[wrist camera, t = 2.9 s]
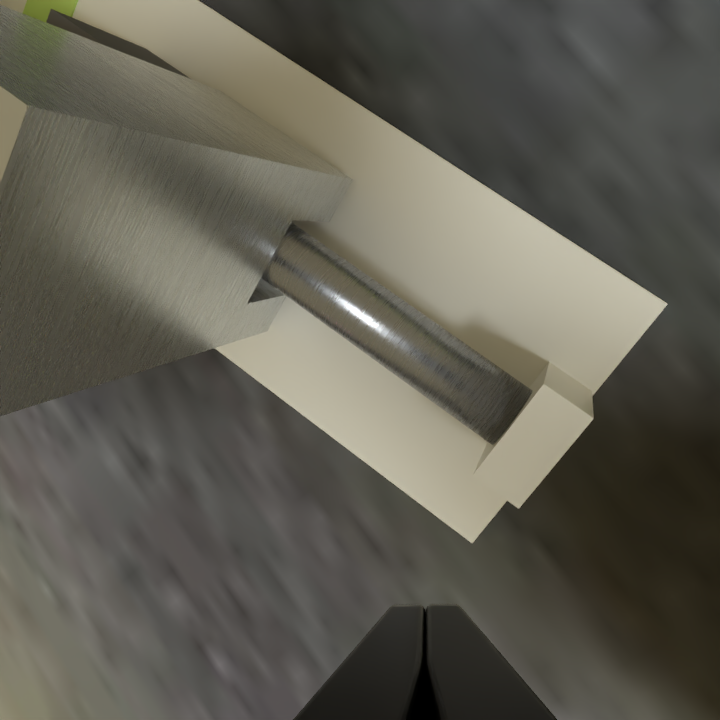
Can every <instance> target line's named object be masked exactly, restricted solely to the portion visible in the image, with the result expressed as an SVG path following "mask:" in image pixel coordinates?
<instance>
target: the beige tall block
mask: <svg viewBox="0 0 720 720" xmlns="http://www.w3.org/2000/svg"><path fill="white" fill-rule="evenodd" d="M352 181H353V179H351V178H350V177H348V176H347V175H345V174H344V173H342V172H341V171H339V170H338V169H337V168H335V167H334V166H332V165H331V164H329V163H328V162H326V161H325V160H323V159H322V158H320V157H319V156H317V155H316V154H314V153H313V152H311V151H310V150H308V149H307V148H305V147H304V146H302V145H301V144H299V143H298V142H296V141H295V140H293V139H292V138H290V137H289V136H287V135H286V134H284V133H283V132H281V131H280V130H278V129H277V128H275V127H274V126H272V125H271V124H269V123H268V122H267V121H265V120H264V119H262V118H261V117H259V116H258V115H256V114H255V113H253V112H252V111H250V110H249V109H247V108H246V107H244V106H243V105H241V104H240V103H238V102H237V101H235V100H234V99H232V98H231V97H229V96H228V95H226V94H225V93H223V92H222V91H220V90H218V89H215V88H212V87H210V86H207V85H205V84H202V83H200V82H197V81H194V80H192V79H189V78H187V77H184V76H182V75H179V74H177V73H174V72H171V71H169V70H166V69H164V68H161V67H159V66H156V65H154V64H151V63H148V62H146V61H143V60H141V59H138V58H136V57H133V56H130V55H128V54H125V53H123V52H120V51H118V50H115V49H113V48H110V47H107V46H105V45H102V44H100V43H97V42H95V41H92V40H90V39H87V38H84V37H82V36H79V35H77V34H74V33H72V32H69V31H66V30H64V29H61V28H59V27H56V26H54V25H51V24H49V23H46V22H43V21H41V20H38V19H36V18H33V17H31V16H28V15H26V14H23V13H20V12H18V11H15V10H13V9H10V8H8V7H5V6H2V5H0V416H2V415H6V414H9V413H12V412H15V411H18V410H21V409H24V408H28V407H31V406H34V405H37V404H40V403H43V402H46V401H50V400H53V399H56V398H59V397H62V396H65V395H69V394H72V393H75V392H78V391H81V390H84V389H87V388H91V387H94V386H97V385H100V384H103V383H106V382H109V381H113V380H116V379H119V378H122V377H125V376H128V375H131V374H135V373H138V372H141V371H144V370H147V369H150V368H153V367H157V366H160V365H163V364H166V363H169V362H172V361H175V360H179V359H182V358H185V357H188V356H191V355H194V354H197V353H201V352H204V351H207V350H210V349H213V348H216V347H219V346H223V345H226V344H229V343H232V342H235V341H238V340H241V339H245V338H248V337H251V336H254V335H257V334H260V333H263V332H267V331H268V329H269V327H270V325H271V324H272V322H273V320H274V318H275V317H276V315H277V313H278V311H279V310H280V308H281V306H282V304H283V303H284V301H285V299H286V297H287V296H285V295H284V294H283V293H281V292H280V291H279V290H277V289H276V288H274V287H273V286H272V285H270V284H269V283H267V282H266V281H265V280H263V279H262V278H261V277H262V275H263V273H264V271H265V270H266V268H267V266H268V264H269V262H270V260H271V259H272V257H273V255H274V253H275V251H276V249H277V248H278V246H279V244H280V242H281V240H282V238H283V237H284V235H285V233H286V231H287V229H288V227H289V226H290V224H291V222H292V220H293V221H319V222H330V220H331V218H332V216H333V215H334V213H335V211H336V209H337V208H338V206H339V204H340V202H341V201H342V199H343V197H344V195H345V194H346V192H347V190H348V188H349V186H350V185H351V183H352Z"/></svg>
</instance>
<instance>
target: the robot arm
mask: <svg viewBox="0 0 720 720" xmlns="http://www.w3.org/2000/svg"><path fill="white" fill-rule="evenodd" d="M293 720H557V719H556V718H555V716H554V715H553V714H552V713H551V712H550V711H549V709H548V708H547V707H546V706H545V705H544V704H543V702H542V701H541V700H540V699H539V698H538V697H537V695H536V694H535V693H534V692H533V691H532V690H531V688H530V687H529V686H528V685H527V684H526V683H525V681H524V680H523V679H522V678H521V677H520V676H519V674H518V673H517V672H516V671H515V670H514V669H513V667H512V666H511V665H510V664H509V663H508V662H507V660H506V659H505V658H504V657H503V656H502V655H501V653H500V652H499V651H498V650H497V649H496V648H495V646H494V645H493V644H492V643H491V642H490V641H489V639H488V638H487V637H486V636H485V635H484V634H483V632H482V631H481V630H480V629H479V628H478V627H477V625H476V624H475V623H474V622H473V621H472V620H471V618H470V617H469V616H468V615H467V614H466V613H465V611H464V610H463V609H462V608H461V607H460V606H459V605H457V604H431V605H429V606H427V608H426V614H425V609H424V607H423V606H421V605H393V606H392V607H390V608H389V609H388V610H387V612H386V613H385V614H384V615H383V616H382V617H381V619H380V620H379V621H378V622H377V623H376V624H375V625H374V627H373V628H372V629H371V630H370V631H369V632H368V634H367V635H366V636H365V637H364V638H363V639H362V641H361V642H360V643H359V644H358V645H357V646H356V647H355V649H354V650H353V651H352V652H351V653H350V654H349V656H348V657H347V658H346V659H345V660H344V661H343V663H342V664H341V665H340V666H339V667H338V668H337V670H336V671H335V672H334V673H333V674H332V675H331V676H330V678H329V679H328V680H327V681H326V682H325V683H324V685H323V686H322V687H321V688H320V689H319V690H318V692H317V693H316V694H315V695H314V696H313V697H312V698H311V700H310V701H309V702H308V703H307V704H306V705H305V707H304V708H303V709H302V710H301V711H300V712H299V714H298V715H297V716H296V717H295V718H294V719H293Z"/></svg>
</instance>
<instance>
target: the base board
mask: <svg viewBox="0 0 720 720" xmlns="http://www.w3.org/2000/svg"><path fill="white" fill-rule="evenodd" d="M0 5H2V6H5V7H8V8H10V9H13V10H15V11H18V12H20V13H23V14H26V15H28V16H31V17H33V18H36V19H38V20H41V21H43V22H46V21H47V18H48V16H49V13H50V10H51V9H53V10H55V11H58V12H60V13H63V14H65V15H67V16H70V17H72V18H74V19H77V20H79V21H82V22H84V23H86V24H89V25H91V26H93V27H96V28H98V29H101V30H103V31H105V32H108V33H110V34H113V35H115V36H117V37H120V38H122V39H124V40H127V41H129V42H132V43H134V44H136V45H139V46H141V47H143V48H146V49H147V50H149V51H150V52H152V53H153V54H155V55H156V56H158V57H159V58H161V59H162V60H164V61H165V62H167V63H168V64H170V65H171V66H173V67H174V68H176V69H177V70H179V71H180V72H182V73H183V74H185V75H186V76H187V77H189V78H190V79H192V80H194V81H197V82H200V83H202V84H205V85H207V86H210V87H212V88H215V89H218V90H220V91H222V92H223V93H225V94H226V95H228V96H229V97H231V98H232V99H234V100H235V101H237V102H238V103H240V104H241V105H243V106H244V107H246V108H247V109H249V110H250V111H252V112H253V113H255V114H256V115H258V116H259V117H261V118H262V119H264V120H265V121H267V122H268V123H269V124H271V125H272V126H274V127H275V128H277V129H278V130H280V131H281V132H283V133H284V134H286V135H287V136H289V137H290V138H292V139H293V140H295V141H296V142H298V143H299V144H301V145H302V146H304V147H305V148H307V149H308V150H310V151H311V152H313V153H314V154H316V155H317V156H319V157H320V158H322V159H323V160H325V161H326V162H328V163H329V164H331V165H332V166H334V167H335V168H337V169H338V170H339V171H341V172H342V173H344V174H345V175H347V176H348V177H350V178H351V179H353V181H352V183H351V185H350V186H349V188H348V190H347V192H346V194H345V195H344V197H343V199H342V201H341V202H340V204H339V206H338V208H337V209H336V211H335V213H334V215H333V216H332V218H331V220H330V222H319V221H293V220H292V223H293V224H295V225H296V226H298V227H299V228H301V229H302V230H304V231H305V232H306V233H308V234H309V235H311V236H312V237H314V238H315V239H316V240H318V241H319V242H321V243H322V244H324V245H325V246H326V247H328V248H329V249H331V250H332V251H334V252H335V253H336V254H338V255H339V256H341V257H342V258H344V259H345V260H346V261H348V262H349V263H351V264H352V265H354V266H355V267H356V268H358V269H359V270H361V271H362V272H364V273H365V274H367V275H368V276H369V277H371V278H372V279H374V280H375V281H377V282H378V283H379V284H381V285H382V286H384V287H385V288H387V289H388V290H389V291H391V292H392V293H394V294H395V295H397V296H398V297H399V298H401V299H402V300H404V301H405V302H407V303H408V304H409V305H411V306H412V307H414V308H415V309H417V310H418V311H419V312H421V313H422V314H424V315H425V316H427V317H428V318H430V319H431V320H432V321H434V322H435V323H437V324H438V325H440V326H441V327H442V328H444V329H445V330H447V331H448V332H450V333H451V334H452V335H454V336H455V337H457V338H458V339H460V340H461V341H462V342H464V343H465V344H467V345H468V346H470V347H471V348H472V349H474V350H475V351H477V352H478V353H480V354H481V355H482V356H484V357H485V358H487V359H488V360H490V361H491V362H493V363H494V364H495V365H497V366H498V367H500V368H501V369H503V370H504V371H505V372H507V373H508V374H510V375H511V376H513V377H514V378H515V379H517V380H518V381H520V382H521V383H523V384H524V385H525V386H527V387H528V388H530V389H531V390H532V394H531V396H530V397H529V399H528V401H527V402H526V404H525V405H524V407H523V408H522V410H521V411H520V413H519V414H518V415H517V417H516V418H515V420H514V421H513V422H512V424H511V425H510V426H509V427H508V429H507V430H506V431H505V433H504V434H503V435H502V436H501V437H500V438H499V440H498V441H497V442H496V443H495V444H494V445H491V444H490V443H489V442H487V441H486V440H484V439H483V438H482V437H480V436H479V435H478V434H476V433H475V432H473V431H472V430H471V429H469V428H468V427H466V426H465V425H464V424H462V423H461V422H460V421H458V420H457V419H455V418H454V417H453V416H451V415H450V414H448V413H447V412H446V411H444V410H443V409H442V408H440V407H439V406H437V405H436V404H435V403H433V402H432V401H431V400H429V399H428V398H426V397H425V396H424V395H422V394H421V393H419V392H418V391H417V390H415V389H414V388H413V387H411V386H410V385H408V384H407V383H406V382H404V381H403V380H402V379H400V378H399V377H397V376H396V375H395V374H393V373H392V372H390V371H389V370H388V369H386V368H385V367H384V366H382V365H381V364H379V363H378V362H377V361H375V360H374V359H372V358H371V357H370V356H368V355H367V354H366V353H364V352H363V351H361V350H360V349H359V348H357V347H356V346H355V345H353V344H352V343H350V342H349V341H348V340H346V339H345V338H343V337H342V336H341V335H339V334H338V333H337V332H335V331H334V330H332V329H331V328H330V327H328V326H327V325H325V324H324V323H323V322H321V321H320V320H319V319H317V318H316V317H314V316H313V315H312V314H310V313H309V312H308V311H306V310H305V309H303V308H302V307H301V306H299V305H298V304H296V303H295V302H294V301H292V300H291V299H290V298H288V297H286V299H285V301H284V303H283V304H282V306H281V308H280V310H279V311H278V313H277V315H276V317H275V318H274V320H273V322H272V324H271V325H270V327H269V329H268V331H267V332H263V333H260V334H257V335H254V336H251V337H248V338H245V339H241V340H238V341H235V342H232V343H229V344H226V345H223V346H219V347H216V348H215V349H216V350H218V351H219V352H220V353H222V354H223V355H224V356H225V357H227V358H228V359H229V360H231V361H232V362H233V363H235V364H236V365H237V366H239V367H240V368H241V369H243V370H244V371H245V372H247V373H248V374H249V375H251V376H252V377H253V378H254V379H256V380H257V381H258V382H260V383H261V384H262V385H264V386H265V387H266V388H268V389H269V390H270V391H272V392H273V393H274V394H276V395H277V396H278V397H280V398H281V399H282V400H284V401H285V402H286V403H287V404H289V405H290V406H291V407H293V408H294V409H295V410H297V411H298V412H299V413H301V414H302V415H303V416H305V417H306V418H307V419H309V420H310V421H311V422H313V423H314V424H315V425H316V426H318V427H319V428H320V429H322V430H323V431H324V432H326V433H327V434H328V435H330V436H331V437H332V438H334V439H335V440H336V441H338V442H339V443H340V444H342V445H343V446H344V447H346V448H347V449H348V450H349V451H351V452H352V453H353V454H355V455H356V456H357V457H359V458H360V459H361V460H363V461H364V462H365V463H367V464H368V465H369V466H371V467H372V468H373V469H375V470H376V471H377V472H378V473H380V474H381V475H382V476H384V477H385V478H386V479H388V480H389V481H390V482H392V483H393V484H394V485H396V486H397V487H398V488H400V489H401V490H402V491H404V492H405V493H406V494H408V495H409V496H410V497H411V498H413V499H414V500H415V501H417V502H418V503H419V504H421V505H422V506H423V507H425V508H426V509H427V510H429V511H430V512H431V513H433V514H434V515H435V516H437V517H438V518H439V519H440V520H442V521H443V522H444V523H446V524H447V525H448V526H450V527H451V528H452V529H454V530H455V531H456V532H458V533H459V534H460V535H462V536H463V537H464V538H466V539H467V540H468V541H470V542H471V543H473V542H474V541H475V539H476V538H477V537H478V536H479V534H480V533H481V532H482V531H483V530H484V528H485V527H486V526H487V525H488V523H489V522H490V521H491V520H492V519H493V517H494V516H495V515H496V514H497V512H498V511H499V510H500V509H501V508H502V506H503V505H504V504H505V503H506V501H509V502H510V503H511V504H513V505H514V506H515V507H517V508H518V509H519V508H520V507H521V506H522V504H523V503H524V502H525V501H526V500H527V498H528V497H529V496H530V495H531V494H532V492H533V491H534V490H535V489H536V487H537V486H538V485H539V484H540V483H541V481H542V480H543V479H544V478H545V477H546V475H547V474H548V473H549V472H550V471H551V469H552V468H553V467H554V466H555V465H556V463H557V462H558V461H559V460H560V459H561V457H562V456H563V455H564V454H565V453H566V451H567V450H568V449H569V448H570V447H571V445H572V444H573V443H574V442H575V441H576V439H577V438H578V437H579V436H580V434H581V433H582V432H583V431H584V430H585V428H586V427H587V426H588V425H589V424H590V422H591V421H592V420H593V419H594V414H593V399H592V396H593V395H594V394H595V392H596V391H597V390H598V389H599V388H600V386H601V385H602V384H603V383H604V381H605V380H606V379H607V378H608V377H609V375H610V374H611V373H612V372H613V370H614V369H615V368H616V367H617V366H618V364H619V363H620V362H621V361H622V359H623V358H624V357H625V356H626V355H627V353H628V352H629V351H630V350H631V348H632V347H633V346H634V345H635V344H636V342H637V341H638V340H639V339H640V337H641V336H642V335H643V334H644V332H645V331H646V330H647V329H648V328H649V326H650V325H651V324H652V323H653V321H654V320H655V319H656V318H657V317H658V315H659V314H660V313H661V312H662V310H663V309H664V308H665V307H666V306H667V303H666V302H664V301H663V300H661V299H660V298H658V297H657V296H655V295H654V294H652V293H651V292H649V291H647V290H646V289H644V288H643V287H641V286H640V285H638V284H637V283H635V282H634V281H632V280H630V279H629V278H627V277H626V276H624V275H623V274H621V273H620V272H618V271H617V270H615V269H613V268H612V267H610V266H609V265H607V264H606V263H604V262H603V261H601V260H600V259H598V258H596V257H595V256H593V255H592V254H590V253H589V252H587V251H586V250H584V249H582V248H581V247H579V246H578V245H576V244H575V243H573V242H572V241H570V240H569V239H567V238H565V237H564V236H562V235H561V234H559V233H558V232H556V231H555V230H553V229H552V228H550V227H548V226H547V225H545V224H544V223H542V222H541V221H539V220H538V219H536V218H535V217H533V216H531V215H530V214H528V213H527V212H525V211H524V210H522V209H521V208H519V207H517V206H516V205H514V204H513V203H511V202H510V201H508V200H507V199H505V198H504V197H502V196H500V195H499V194H497V193H496V192H494V191H493V190H491V189H490V188H488V187H487V186H485V185H483V184H482V183H480V182H479V181H477V180H476V179H474V178H473V177H471V176H470V175H468V174H466V173H465V172H463V171H462V170H460V169H459V168H457V167H456V166H454V165H453V164H451V163H449V162H448V161H446V160H445V159H443V158H442V157H440V156H439V155H437V154H435V153H434V152H432V151H431V150H429V149H428V148H426V147H425V146H423V145H422V144H420V143H418V142H417V141H415V140H414V139H412V138H411V137H409V136H408V135H406V134H405V133H403V132H401V131H400V130H398V129H397V128H395V127H394V126H392V125H391V124H389V123H388V122H386V121H384V120H383V119H381V118H380V117H378V116H377V115H375V114H374V113H372V112H371V111H369V110H367V109H366V108H364V107H363V106H361V105H360V104H358V103H357V102H355V101H353V100H352V99H350V98H349V97H347V96H346V95H344V94H343V93H341V92H340V91H338V90H336V89H335V88H333V87H332V86H330V85H329V84H327V83H326V82H324V81H323V80H321V79H319V78H318V77H316V76H315V75H313V74H312V73H310V72H309V71H307V70H306V69H304V68H302V67H301V66H299V65H298V64H296V63H295V62H293V61H292V60H290V59H288V58H287V57H285V56H284V55H282V54H281V53H279V52H278V51H276V50H275V49H273V48H271V47H270V46H268V45H267V44H265V43H264V42H262V41H261V40H259V39H258V38H256V37H254V36H253V35H251V34H250V33H248V32H247V31H245V30H244V29H242V28H241V27H239V26H237V25H236V24H234V23H233V22H231V21H230V20H228V19H227V18H225V17H224V16H222V15H220V14H219V13H217V12H216V11H214V10H213V9H211V8H210V7H208V6H206V5H205V4H203V3H202V2H200V1H199V0H0Z"/></svg>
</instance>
